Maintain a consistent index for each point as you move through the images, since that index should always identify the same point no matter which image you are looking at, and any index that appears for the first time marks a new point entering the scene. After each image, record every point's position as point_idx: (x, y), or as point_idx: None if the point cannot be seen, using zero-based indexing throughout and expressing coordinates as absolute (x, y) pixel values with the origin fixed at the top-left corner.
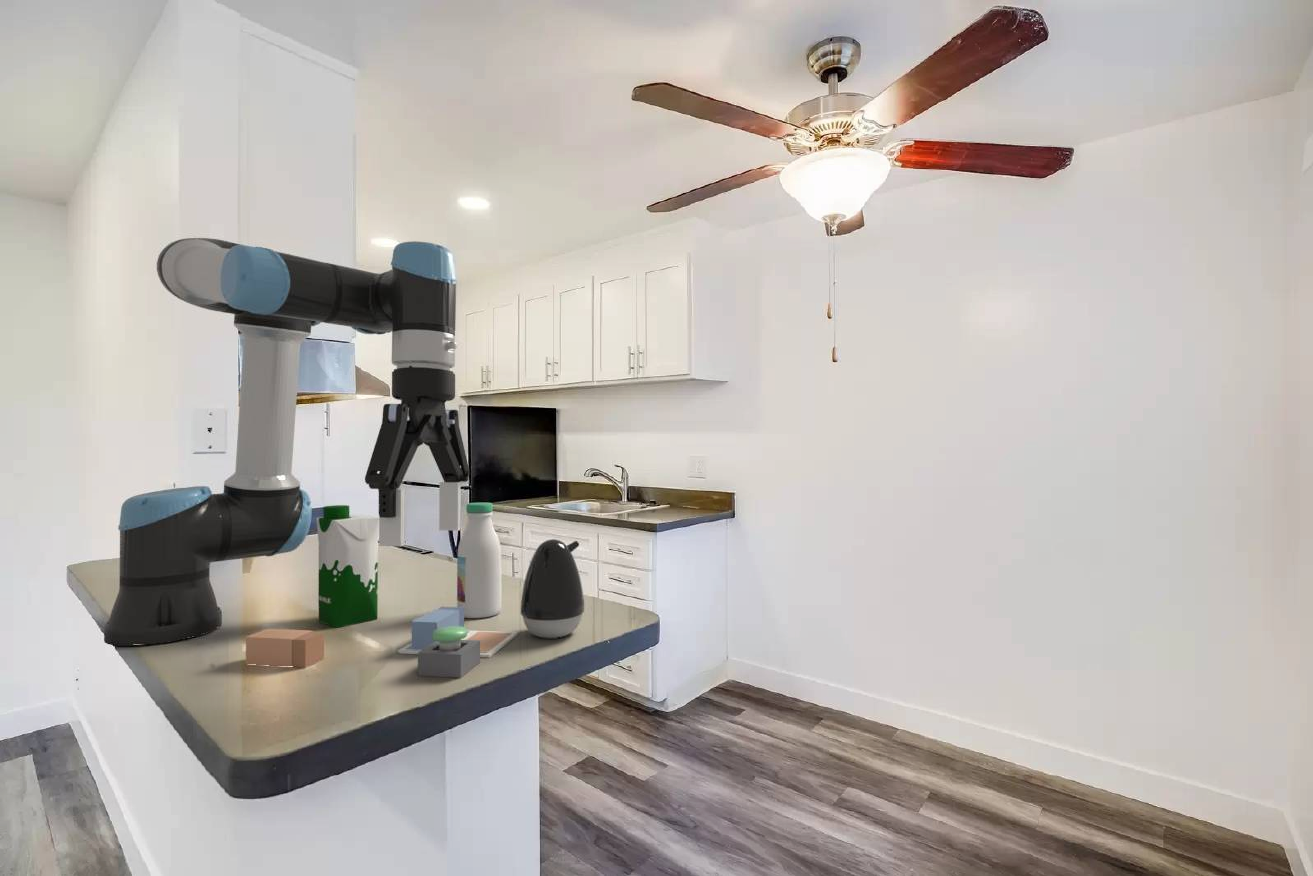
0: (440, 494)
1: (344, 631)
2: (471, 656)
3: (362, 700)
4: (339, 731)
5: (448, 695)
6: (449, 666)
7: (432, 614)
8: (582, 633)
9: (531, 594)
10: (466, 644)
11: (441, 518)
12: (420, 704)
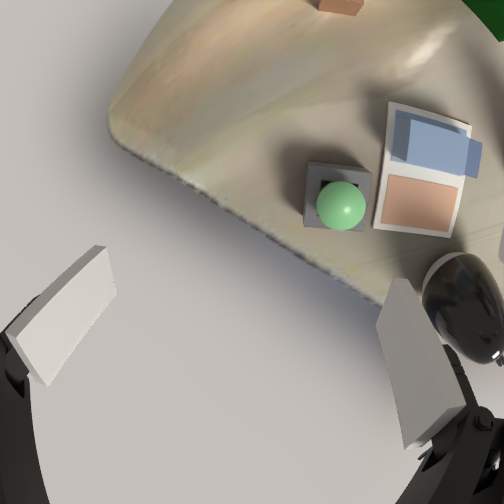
0: (429, 368)
1: (454, 10)
2: None
3: (224, 134)
4: (155, 158)
5: (250, 221)
6: (304, 206)
7: (445, 140)
8: None
9: (448, 292)
10: None
11: (402, 306)
12: (223, 202)
